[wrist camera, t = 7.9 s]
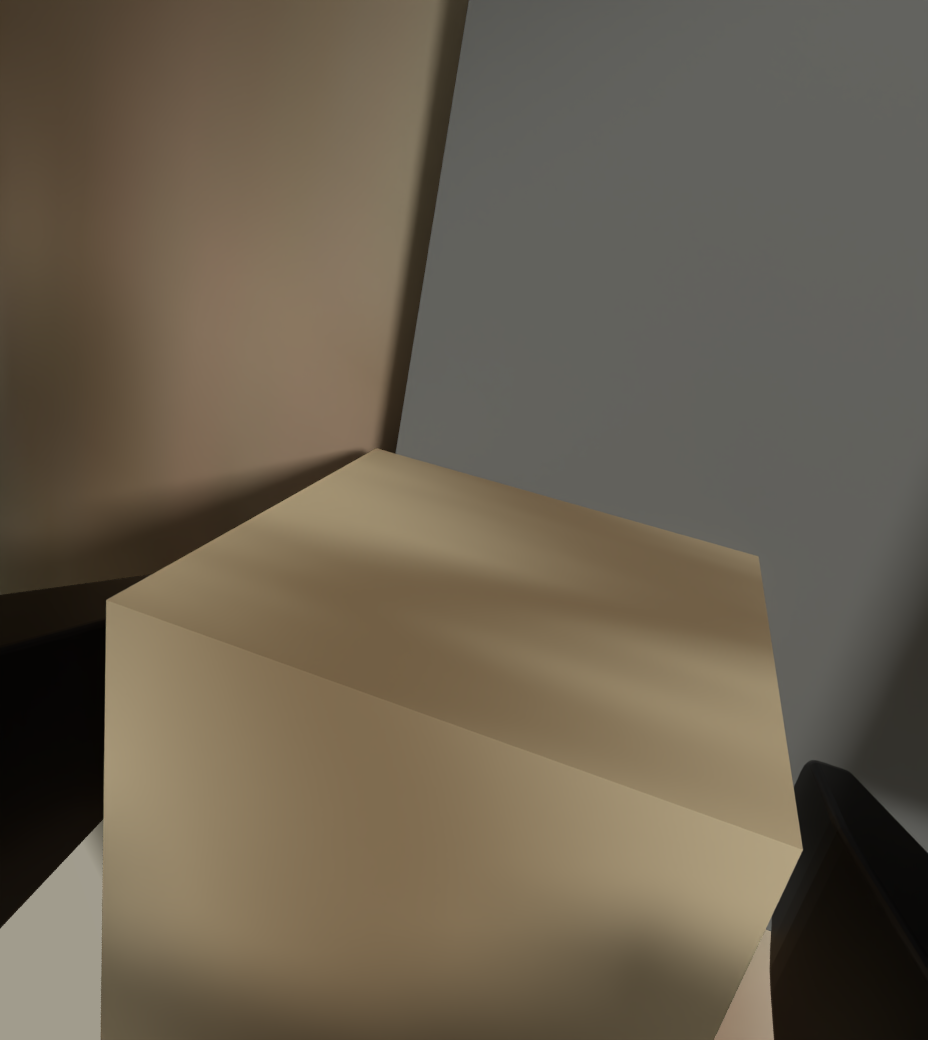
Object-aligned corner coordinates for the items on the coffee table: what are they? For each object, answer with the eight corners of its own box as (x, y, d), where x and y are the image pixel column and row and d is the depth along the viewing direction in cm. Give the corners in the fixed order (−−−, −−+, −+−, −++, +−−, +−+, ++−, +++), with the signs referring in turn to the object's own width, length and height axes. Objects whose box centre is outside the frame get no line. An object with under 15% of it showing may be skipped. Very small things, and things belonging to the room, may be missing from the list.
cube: (758, 557, 8) (802, 851, 4) (643, 865, 10) (595, 1291, 6) (376, 448, 9) (106, 599, 5) (330, 747, 11) (100, 1041, 7)
